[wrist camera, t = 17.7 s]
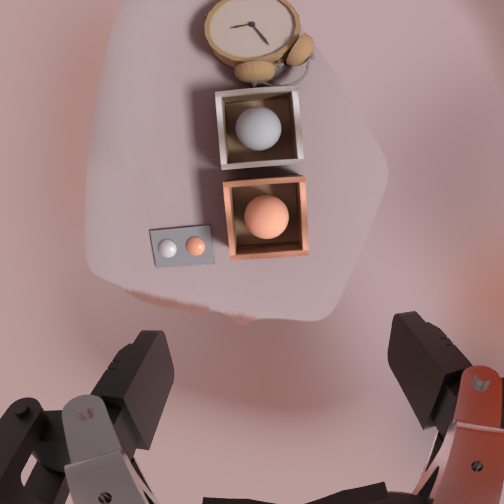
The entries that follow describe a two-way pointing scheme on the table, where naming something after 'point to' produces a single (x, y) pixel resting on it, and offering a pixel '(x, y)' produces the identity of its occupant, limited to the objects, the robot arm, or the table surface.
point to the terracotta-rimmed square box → (283, 245)
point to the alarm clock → (257, 38)
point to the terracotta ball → (266, 216)
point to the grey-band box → (276, 100)
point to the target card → (183, 246)
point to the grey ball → (258, 128)
